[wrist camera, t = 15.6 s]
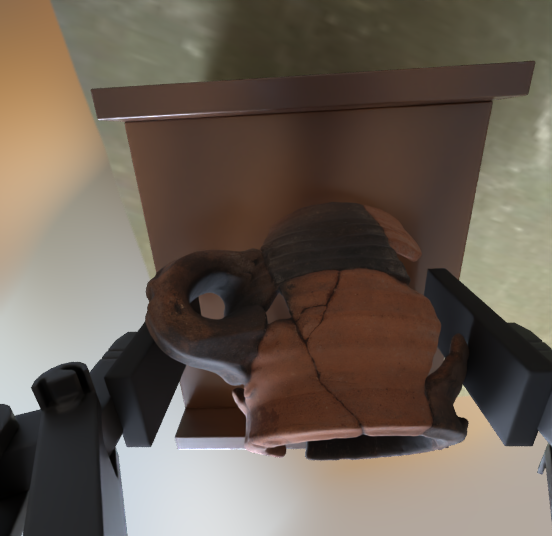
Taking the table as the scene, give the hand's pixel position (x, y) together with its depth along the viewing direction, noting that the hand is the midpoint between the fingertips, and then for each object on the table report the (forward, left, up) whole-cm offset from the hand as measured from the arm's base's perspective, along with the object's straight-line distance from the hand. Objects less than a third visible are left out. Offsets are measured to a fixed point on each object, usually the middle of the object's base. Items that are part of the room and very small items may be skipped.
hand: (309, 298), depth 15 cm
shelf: (0, 0, -14) cm, 14 cm away
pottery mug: (0, 0, 0) cm, 0 cm away
